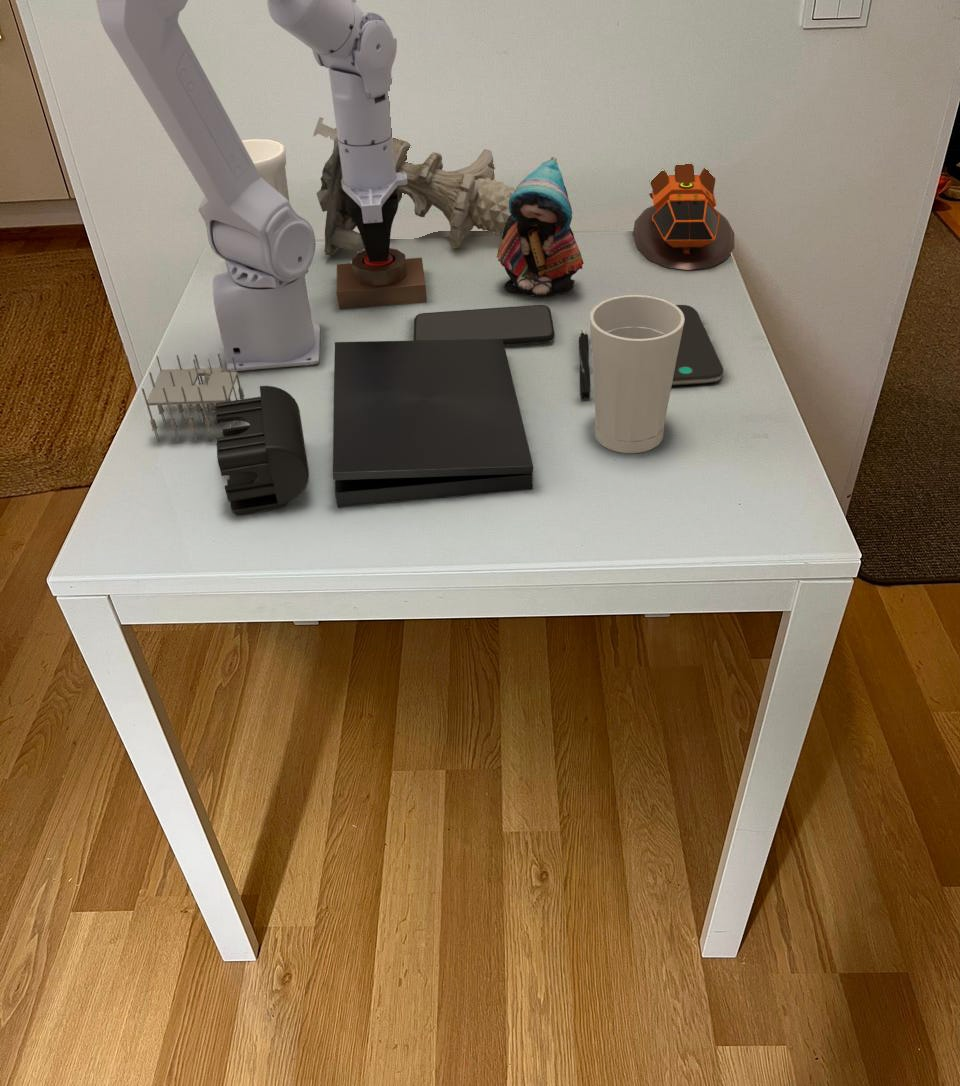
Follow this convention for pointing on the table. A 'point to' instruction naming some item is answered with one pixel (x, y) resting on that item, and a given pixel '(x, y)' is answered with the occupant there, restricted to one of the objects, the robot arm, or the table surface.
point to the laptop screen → (426, 410)
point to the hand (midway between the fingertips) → (378, 258)
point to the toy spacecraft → (683, 222)
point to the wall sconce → (420, 194)
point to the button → (379, 262)
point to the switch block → (380, 282)
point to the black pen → (584, 365)
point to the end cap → (262, 451)
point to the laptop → (425, 488)
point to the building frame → (191, 392)
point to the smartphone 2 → (695, 353)
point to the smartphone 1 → (488, 325)
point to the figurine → (540, 236)
